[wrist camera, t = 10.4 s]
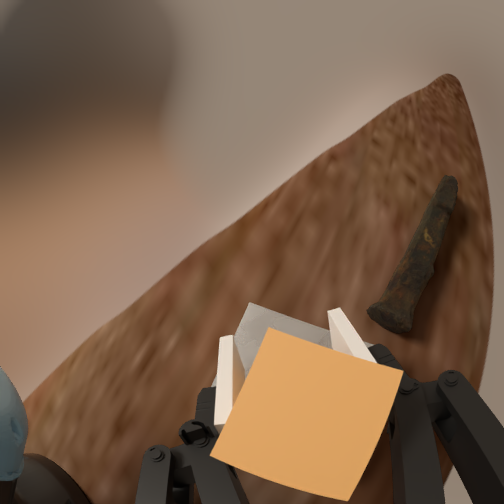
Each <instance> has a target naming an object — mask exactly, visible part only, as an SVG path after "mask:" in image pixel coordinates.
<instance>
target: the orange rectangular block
mask: <svg viewBox="0 0 504 504" xmlns="http://www.w3.org/2000/svg"><path fill="white" fill-rule="evenodd" d="M402 374H403V371H402V370H398V369H395V368H391V367H388V366H384V365H381V364H378V363H374V362H371V361H367V360H364V359H361V358H358V357H354V356H351V355H348V354H345V353H342V352H339V351H336V350H333V349H330V348H327V347H324V346H321V345H318V344H315V343H312V342H309V341H306V340H303V339H300V338H297V337H295V336H292V335H289V334H286V333H283V332H281V331H278V330H275V329H273V328H270V327H268V329H267V332H266V334H265V337H264V339H263V341H262V344H261V346H260V348H259V350H258V353H257V355H256V357H255V360H254V362H253V364H252V366H251V369H250V371H249V373H248V375H247V378H246V380H245V382H244V384H243V386H242V389H241V391H240V393H239V395H238V397H237V400H236V402H235V404H234V406H233V408H232V410H231V412H230V415H229V417H228V419H227V421H226V423H225V425H224V427H223V429H222V431H221V433H220V436H219V438H218V440H217V442H216V444H215V446H214V448H213V450H212V452H211V454H210V456H212V457H214V458H216V459H218V460H220V461H223V462H225V463H227V464H229V465H232V466H234V467H236V468H239V469H241V470H244V471H246V472H249V473H251V474H254V475H257V476H259V477H262V478H265V479H268V480H270V481H273V482H276V483H279V484H282V485H286V486H289V487H292V488H295V489H299V490H302V491H306V492H310V493H313V494H317V495H321V496H326V497H330V498H335V499H339V500H344V501H348V500H349V498H350V496H351V495H352V493H353V491H354V489H355V487H356V486H357V484H358V482H359V480H360V478H361V476H362V474H363V472H364V470H365V468H366V466H367V464H368V462H369V460H370V458H371V456H372V454H373V451H374V449H375V447H376V445H377V442H378V440H379V438H380V435H381V433H382V431H383V428H384V426H385V423H386V421H387V418H388V415H389V413H390V410H391V407H392V405H393V402H394V399H395V396H396V393H397V390H398V387H399V384H400V381H401V378H402Z"/></svg>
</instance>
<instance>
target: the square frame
mask: <svg viewBox="0 0 504 504" xmlns="http://www.w3.org/2000/svg"><path fill="white" fill-rule="evenodd" d="M268 327H270V328H273V329H275V330H278V331H281V332H283V333H286V334H289V335H292V336H295V337H297V338H300V339H303V340H306V341H309V342H312V343H315V344H318V345H321V346H324V347H327V348H330V349H333V348H332V342H331V334H330V331H329V330H326V329H323V328H320V327H317V326H314V325H311V324H309V323H306V322H303V321H300V320H297V319H294V318H291V317H289V316H286V315H283V314H280V313H277V312H275V311H272V310H269V309H266V308H264V307H261V306H258V305H256V304H253V303H250V302H249V305H248V307H247V309H246V311H245V314H244V316H243V318H242V320H241V323H240V325H239V327H238V329H237V331H236V334H235V336H234V340H235V343H236V346H237V349H238V352H239V355H240V358H241V360H242V363H243V366H244V369H245V380H246V378H247V375H248V373H249V371H250V369H251V366H252V364H253V362H254V360H255V357H256V355H257V353H258V350H259V348H260V346H261V344H262V341H263V339H264V337H265V334H266V332H267V329H268ZM364 344H365V345H366V347H367V348H368V347H371V346H373V344H369V343H366V342H364ZM216 385H217V375H216V378H215V380H214V382H213V384H212V386H211V387H215V386H216Z"/></svg>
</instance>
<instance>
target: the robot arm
mask: <svg viewBox="0 0 504 504" xmlns="http://www.w3.org/2000/svg"><path fill="white" fill-rule="evenodd" d="M328 318H329V326H330V334H331V342H332V348H333V350H336V351H339V352H342V353H345V354H348V355H351V356H354V357H358V358H361V359H364V360H367V361H371V362H374V363H378V364H381V365H384V366H388V367H391V368H395V369H398V370H402V371H403V374H402V378H401V381H400V384H399V387H398V390H397V393H396V396H395V399H394V402H393V405H392V407H391V410H390V413H389V415H388V418H389V422H388V428H387V433H389V438H390V448H391V460H392V474H393V499H394V504H445V497H444V489H443V481H442V475H441V469H440V463H439V457H438V452H437V447H436V442H435V437H434V433H433V428H434V430H435V432H436V434H437V435H438V437H439V439H440V441H441V442H442V444H443V446H444V448H445V450H446V452H447V453H448V455H449V457H450V459H451V461H452V463H453V465H454V467H455V468H456V470H457V472H458V474H459V476H460V478H461V480H462V482H463V484H464V486H465V488H466V490H467V492H468V494H469V496H470V498H471V500H472V503H473V504H504V428H503V426H502V425H501V423H500V422H499V421H498V419H497V418H496V417H495V415H494V414H493V413H492V411H491V410H490V409H489V407H488V406H487V405H486V403H485V402H484V401H483V399H482V398H481V397H480V396H479V394H478V393H477V392H476V391H475V389H474V388H473V387H472V386H471V384H470V383H469V382H468V381H467V379H466V378H465V377H464V376H463V375H462V374H461V373H460V372H458V371H455V370H448V371H445V372H443V373H442V374H440V376H439V378H438V380H437V381H432V382H426V383H420V382H419V381H417V380H416V379H412V378H409V377H408V375H407V374H406V373H405V371H404V370H403V368H402V367H401V366H400V364H399V363H398V362H397V360H395V358H394V356H393V355H392V354H391V352H390V351H389V350H388V348H387V347H385V346H383V345H381V344H380V343H379V344H376V345H373V346H371V347H368V348H367V347H366V345H365V344H364V342H363V341H362V339H361V338H360V336H359V335H358V333H357V332H356V331H355V329H354V328H353V326H352V325H351V323H350V322H349V320H348V319H347V317H346V316H345V314H344V313H343V311H342V310H341V309H340V308H337V309H333V310H330V311H328ZM244 382H245V369H244V366H243V363H242V360H241V358H240V355H239V352H238V349H237V346H236V343H235V340H234V337H233V335H229V336H224V337H220V344H219V357H218V371H217V385H216V386H215V387H208V388H203V389H202V390H201V392H200V393H199V395H198V399H197V406H196V414H195V419H194V420H190V421H188V422H185V423H184V424H183V425H182V426H181V428H180V429H179V436H180V438H181V439H182V440H183V442H184V444H182V445H180V446H177V447H174V448H171V449H168V447H166V446H164V445H155V446H152V447H150V448H149V449H148V450H147V451H146V452H145V454H144V456H143V461H142V467H141V472H140V477H139V483H138V489H137V494H136V501H135V504H193V496H194V483H196V485H197V489H198V492H199V495H200V499H201V502H202V504H249V501H248V499H247V497H246V495H245V492H244V490H243V488H242V485H241V483H240V481H239V478H238V476H237V474H236V471H235V469H234V466H232V465H229V464H227V463H225V462H223V461H220V460H218V459H216V458H214V457H212V456H210V454H211V452H212V450H213V448H214V446H215V444H216V442H217V440H218V438H219V436H220V433H221V431H222V429H223V427H224V425H225V423H226V421H227V419H228V417H229V415H230V412H231V410H232V408H233V406H234V404H235V402H236V400H237V397H238V395H239V393H240V391H241V389H242V386H243V384H244ZM432 427H433V428H432ZM27 435H28V420H27V415H26V411H25V408H24V405H23V403H22V400H21V398H20V396H19V394H18V392H17V390H16V388H15V387H14V385H13V383H12V382H11V381H10V379H9V377H8V376H7V375H6V373H5V372H4V371H3V370H2V368H1V367H0V504H90V503H89V502H88V500H87V498H86V497H85V495H84V494H83V493H82V491H81V490H80V489H79V487H78V486H77V485H76V484H75V482H74V481H73V480H72V479H71V478H70V477H69V476H68V475H67V474H66V473H65V472H64V471H63V470H62V469H61V468H60V467H59V466H58V465H57V464H55V463H54V462H52V461H51V460H49V459H48V458H46V457H44V456H42V455H39V454H34V453H29V454H23V453H24V448H25V444H26V439H27Z"/></svg>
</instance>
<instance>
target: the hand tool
mask: <svg viewBox="0 0 504 504" xmlns="http://www.w3.org/2000/svg"><path fill="white" fill-rule="evenodd" d="M457 184H458V183H457V180H456V179H455V177H453V176H446V175H445V176H444V177H443V179H442V180H441V182H440V183H439V185H438V188H437V189H436V192H435V193H434V195H433V197H432V199H431V201H430V203H429V205H428V206H427V208H426V210H425V212H424V215H423V218H422V220H421V222H420V224H419V226H418V228H417V230H416V232H415V234H414V236H413V238H412V240H411V242H410V244H409V247H408V249H407V251H406V253H405V255H404V257H403V259H402V260H401V261H400V264H399V265H398V266H397V268H396V270H395V272H394V274H393V276H392V278H391V280H390V282H389V285H388V287H387V289H386V291H385V292H384V294H383V295H382V297H381V299H380V300H379V302H377V303H375V304H373V305H371V306H370V307H369V309H368V310H367V313H368V314H369V316H370V318H371V319H373V320H374V321H376V322H377V323H378V324H379V325H380V326H382V327H384V328H385V329H387V330H389V331H392V332H395V333H403V332H408V331H410V329H412V321H413V317H414V315H413V313H414V309H415V306H416V304H417V303H418V300H419V298H420V296H421V293H422V291H423V289H424V288H425V287H426V285H427V284H428V280H429V279H430V278H431V277H432V276H433V274H434V268H433V264H434V261H435V259H436V256H437V254H438V251H439V249H440V246H441V242H442V239H443V236H444V233H445V230H446V227H447V224H448V221H449V218H450V214H451V213H452V211H453V209H454V206H455V202H456V199H457V192H458V186H457Z"/></svg>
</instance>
